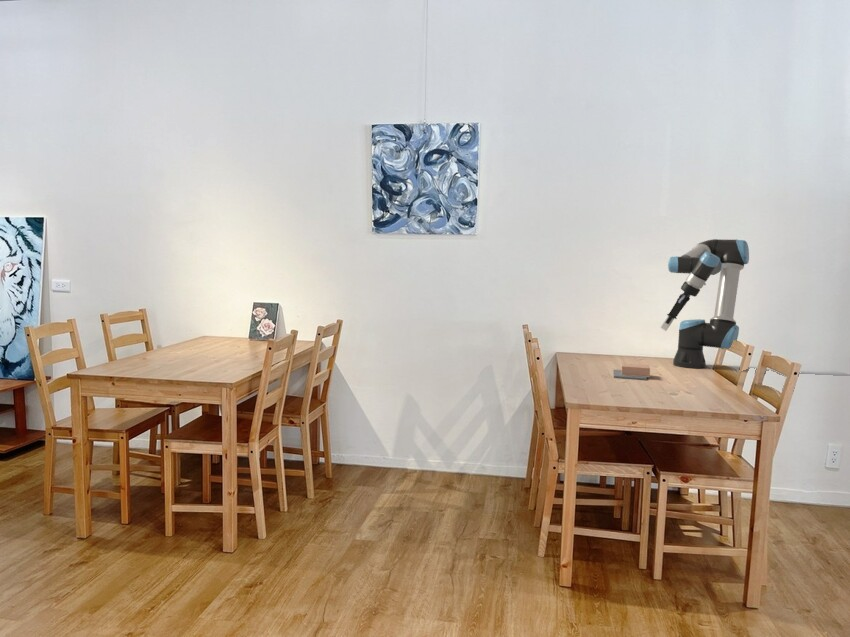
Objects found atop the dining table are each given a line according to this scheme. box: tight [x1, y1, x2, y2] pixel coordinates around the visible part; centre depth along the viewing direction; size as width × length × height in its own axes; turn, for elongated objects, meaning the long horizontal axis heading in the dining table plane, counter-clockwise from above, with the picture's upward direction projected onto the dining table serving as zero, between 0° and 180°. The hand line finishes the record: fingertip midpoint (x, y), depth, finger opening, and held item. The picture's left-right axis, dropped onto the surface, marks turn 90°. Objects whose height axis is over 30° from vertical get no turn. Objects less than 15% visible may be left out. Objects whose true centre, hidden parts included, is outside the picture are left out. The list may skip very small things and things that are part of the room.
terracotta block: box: [620, 362, 651, 378], centre depth 299 cm, size 4×9×12 cm
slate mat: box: [613, 369, 648, 381], centre depth 300 cm, size 14×16×1 cm
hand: (663, 329), depth 300 cm, fingers closed
